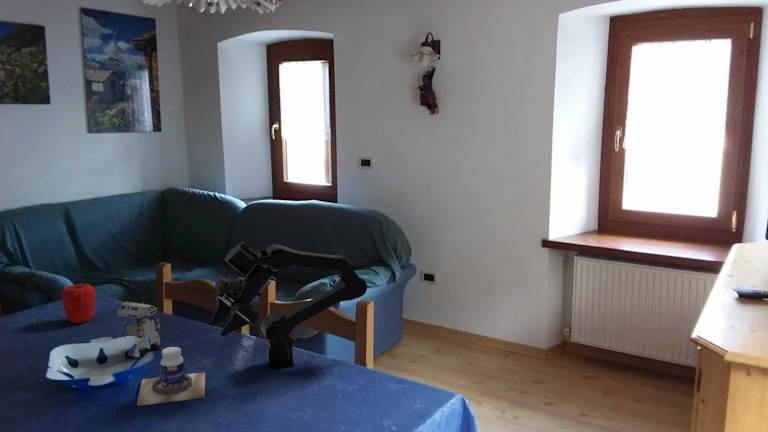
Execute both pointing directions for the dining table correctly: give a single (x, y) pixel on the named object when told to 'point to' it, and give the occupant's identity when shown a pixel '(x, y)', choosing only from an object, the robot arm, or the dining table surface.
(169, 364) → the pill bottle
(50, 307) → the dining table surface
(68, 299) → the apple
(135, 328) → the figurine
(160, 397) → the collar board
